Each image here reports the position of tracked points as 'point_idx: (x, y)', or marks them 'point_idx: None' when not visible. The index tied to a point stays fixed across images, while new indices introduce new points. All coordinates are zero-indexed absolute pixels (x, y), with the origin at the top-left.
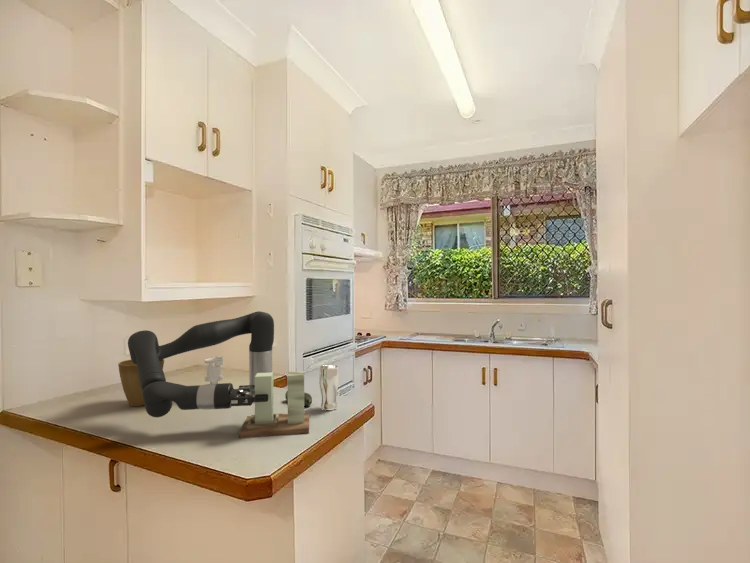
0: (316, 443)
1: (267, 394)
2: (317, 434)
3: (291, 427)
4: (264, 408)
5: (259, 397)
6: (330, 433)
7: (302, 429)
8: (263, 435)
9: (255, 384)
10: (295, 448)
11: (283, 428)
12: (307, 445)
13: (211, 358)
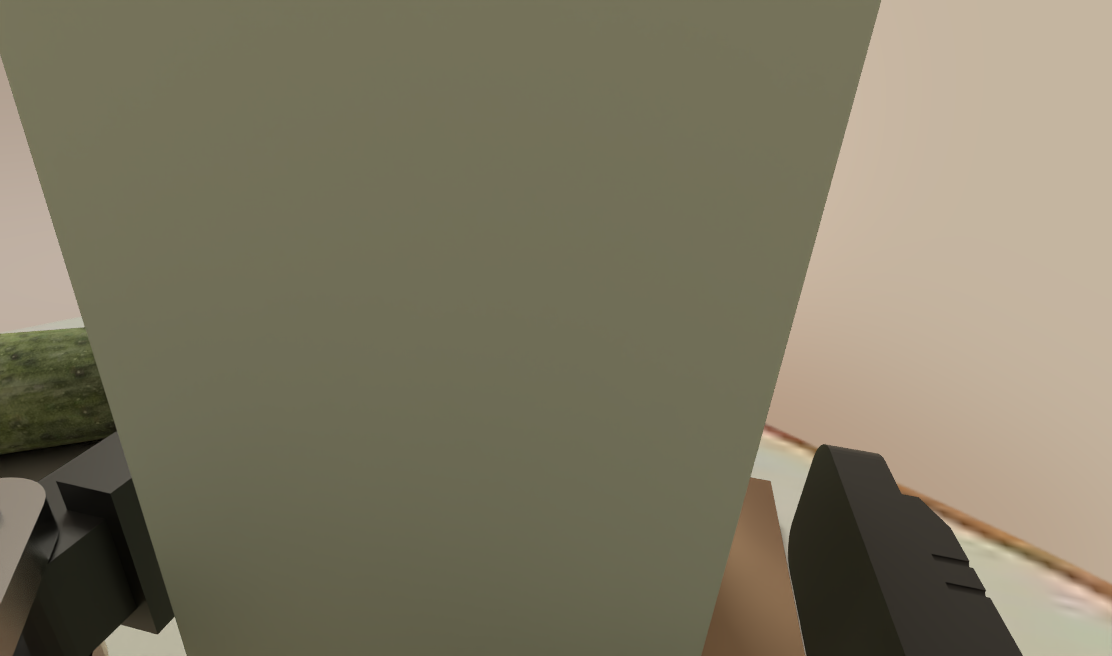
0: (948, 513)
1: (852, 450)
2: (786, 477)
3: (744, 577)
4: None
5: (1000, 634)
6: (773, 428)
7: (776, 520)
8: None
9: (754, 409)
10: (1095, 649)
11: (763, 646)
12: (1000, 563)
13: None
